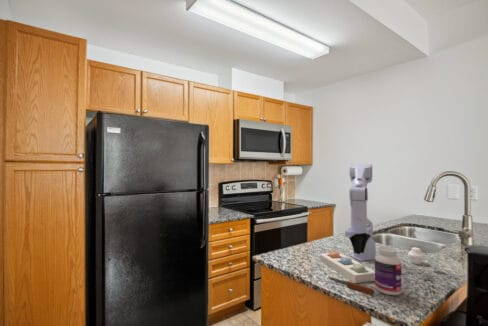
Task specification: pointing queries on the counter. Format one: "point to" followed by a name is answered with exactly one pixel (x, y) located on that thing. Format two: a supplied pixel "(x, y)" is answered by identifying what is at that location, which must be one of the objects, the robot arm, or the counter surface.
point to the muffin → (416, 255)
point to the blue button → (345, 261)
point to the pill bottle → (388, 271)
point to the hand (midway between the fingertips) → (358, 252)
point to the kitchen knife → (355, 286)
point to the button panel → (348, 269)
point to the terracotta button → (334, 254)
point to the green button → (358, 268)
